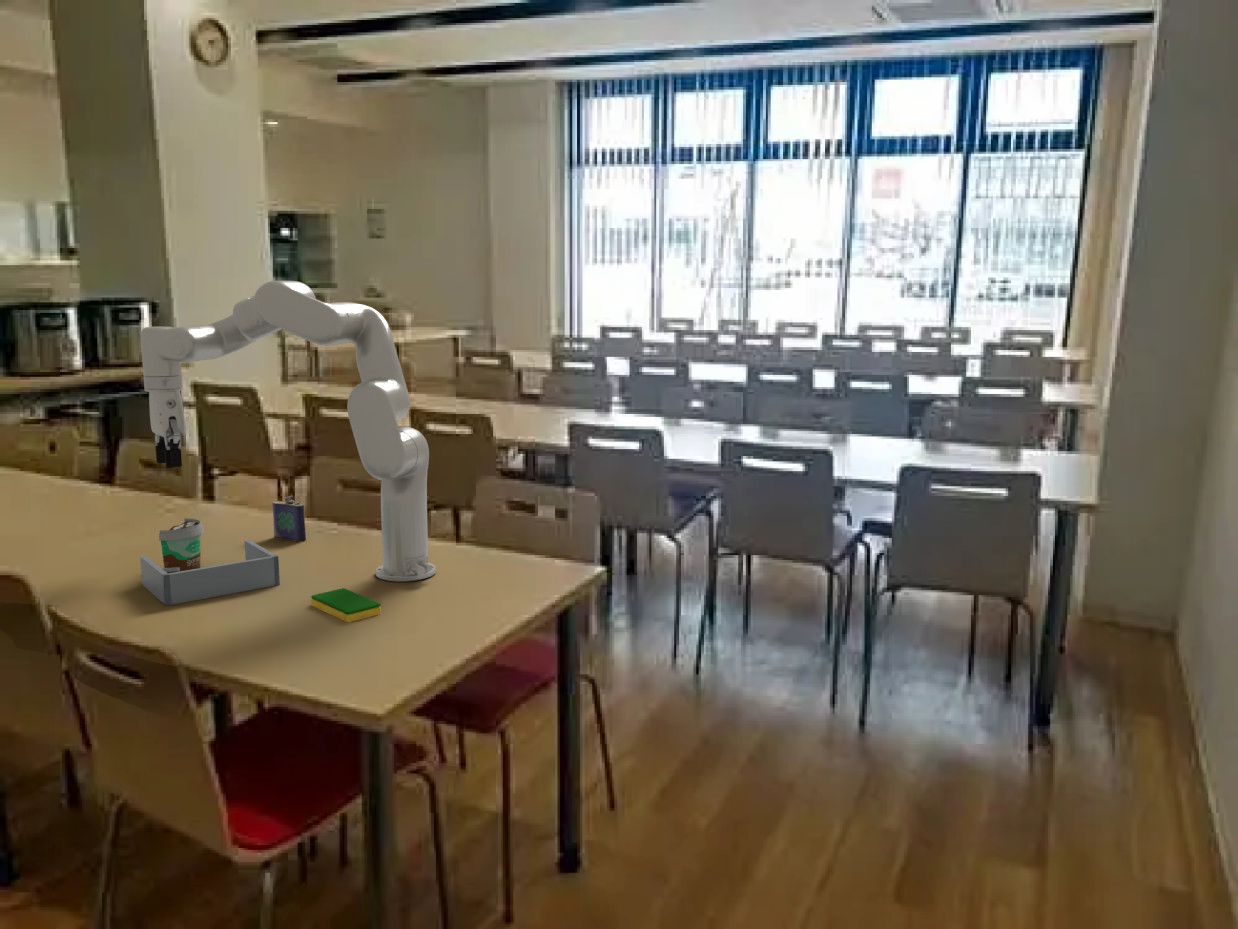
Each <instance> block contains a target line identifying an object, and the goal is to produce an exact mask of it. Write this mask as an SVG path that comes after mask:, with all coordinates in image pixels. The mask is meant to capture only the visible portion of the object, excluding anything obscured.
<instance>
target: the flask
mask: <svg viewBox="0 0 1238 929" xmlns="http://www.w3.org/2000/svg"><path fill="white" fill-rule="evenodd" d="M292 498H293V495H288V496H284V498H283V499H285V501H281V500H279V501H274V502H272V513H273V514H272V517H273V537H274V538H275V539H277V540H279V539H280V540H283V541H284V540H285V541H294V542H297V541H298V542H299V543H300V542H301V541H303V542H306V541H307V537H306V535H307V533H306V524H305V520H306V519H305V506H304V504H303V503H300V502H299V501H296V502H295V500H294V499H292ZM305 540H306V541H305Z"/></svg>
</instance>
